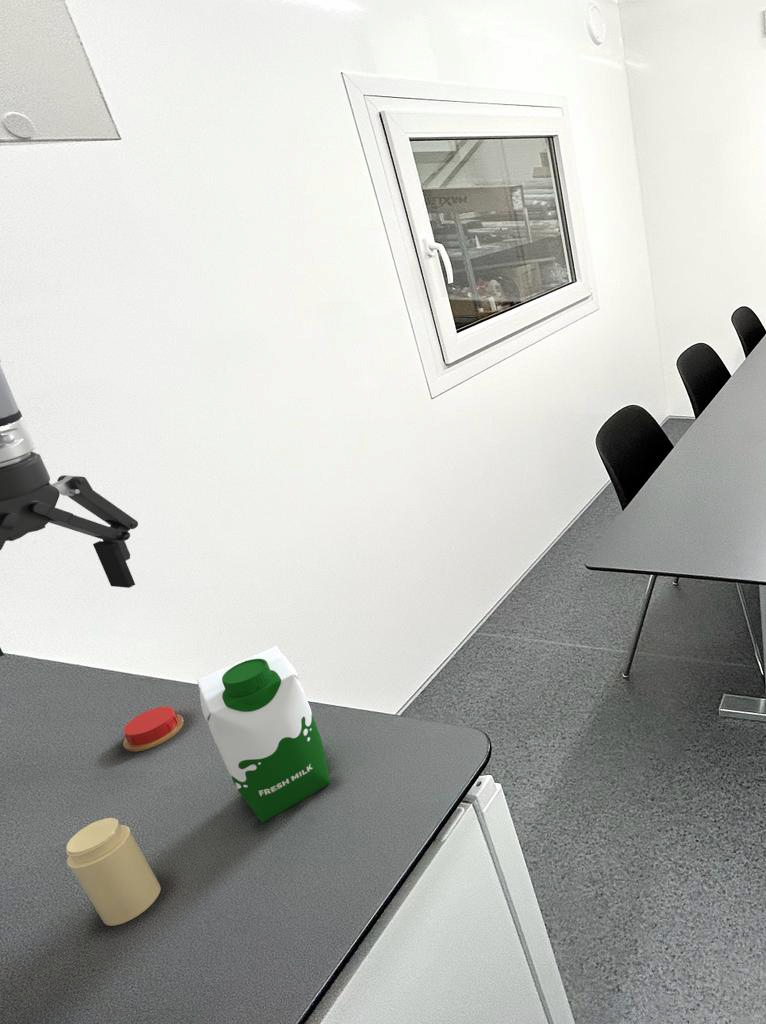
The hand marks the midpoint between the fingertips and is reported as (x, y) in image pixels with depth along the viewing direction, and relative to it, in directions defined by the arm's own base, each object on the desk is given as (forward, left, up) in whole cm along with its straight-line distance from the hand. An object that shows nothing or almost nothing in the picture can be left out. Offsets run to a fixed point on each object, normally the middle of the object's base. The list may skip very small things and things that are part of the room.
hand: (62, 618), depth 77 cm
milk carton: (+26, -7, -22) cm, 35 cm away
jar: (+19, -21, -22) cm, 35 cm away
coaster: (+1, +2, -22) cm, 22 cm away
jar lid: (+1, +2, -20) cm, 20 cm away
